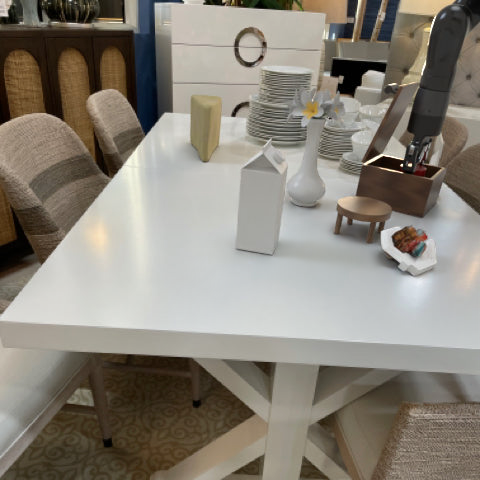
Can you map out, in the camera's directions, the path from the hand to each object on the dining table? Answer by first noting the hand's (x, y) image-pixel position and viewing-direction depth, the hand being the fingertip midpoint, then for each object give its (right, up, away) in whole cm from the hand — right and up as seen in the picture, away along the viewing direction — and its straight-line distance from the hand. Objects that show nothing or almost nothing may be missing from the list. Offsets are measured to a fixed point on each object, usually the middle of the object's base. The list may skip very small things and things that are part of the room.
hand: (408, 185), depth 115 cm
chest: (-2, -3, +3) cm, 5 cm away
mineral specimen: (-10, -22, -25) cm, 35 cm away
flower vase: (-26, -4, -1) cm, 27 cm away
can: (0, -2, +1) cm, 3 cm away
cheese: (-52, +19, +31) cm, 63 cm away
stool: (-16, -14, -15) cm, 27 cm away
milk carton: (-38, -19, -24) cm, 49 cm away
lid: (-5, +13, -4) cm, 15 cm away
